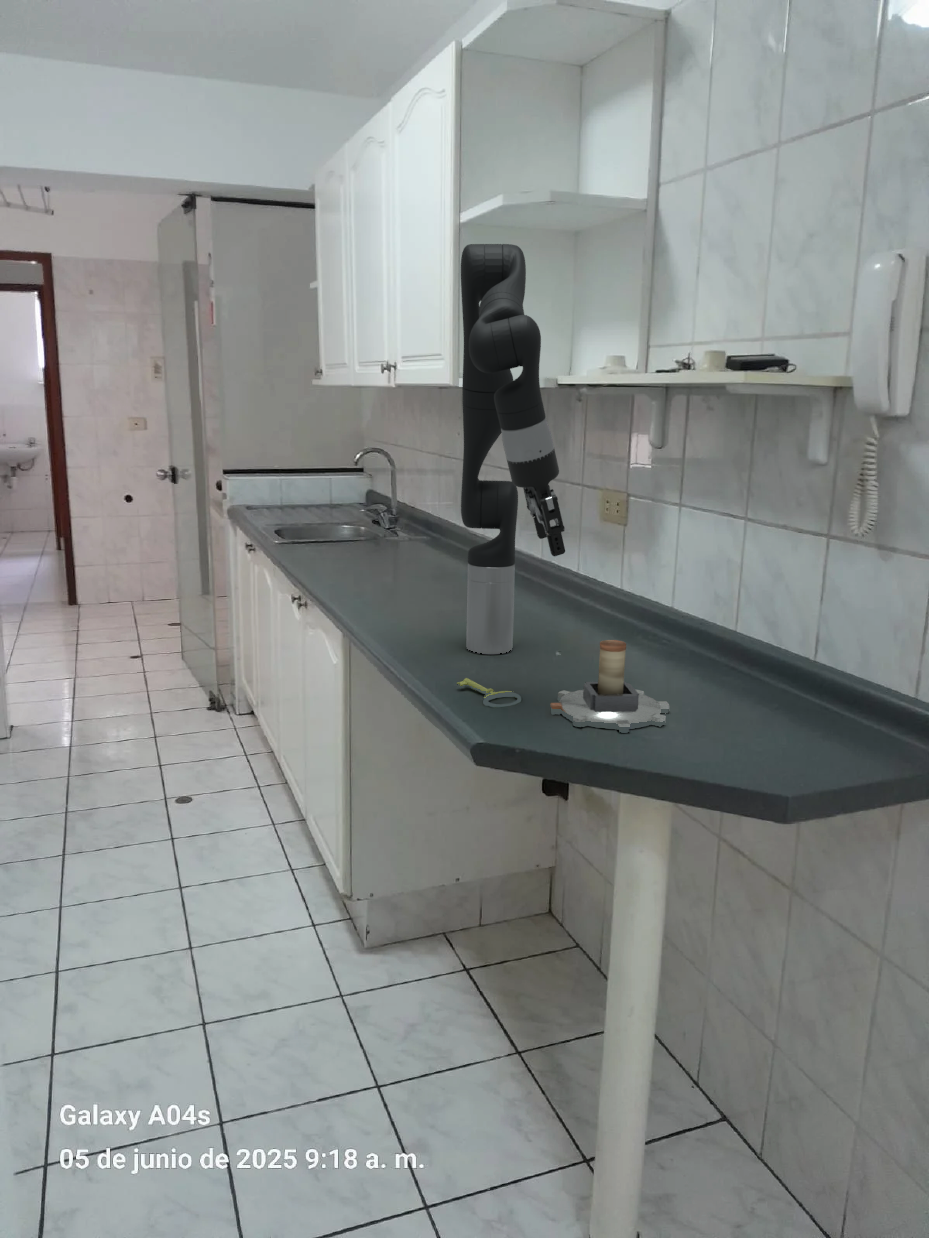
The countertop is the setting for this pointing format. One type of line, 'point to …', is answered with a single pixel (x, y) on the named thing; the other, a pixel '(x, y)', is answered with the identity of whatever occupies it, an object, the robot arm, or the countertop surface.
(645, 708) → the sprocket plate
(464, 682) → the key
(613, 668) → the pin
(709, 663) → the countertop surface
